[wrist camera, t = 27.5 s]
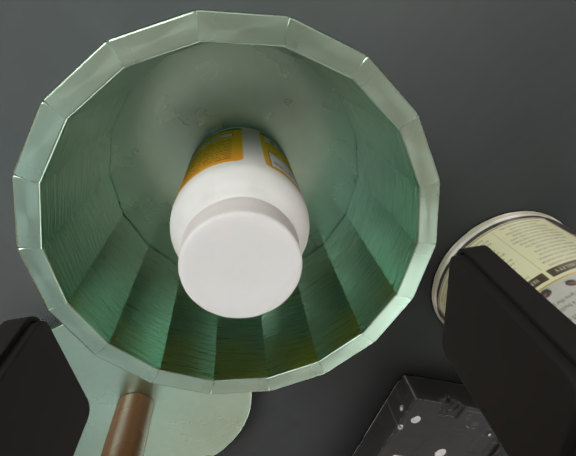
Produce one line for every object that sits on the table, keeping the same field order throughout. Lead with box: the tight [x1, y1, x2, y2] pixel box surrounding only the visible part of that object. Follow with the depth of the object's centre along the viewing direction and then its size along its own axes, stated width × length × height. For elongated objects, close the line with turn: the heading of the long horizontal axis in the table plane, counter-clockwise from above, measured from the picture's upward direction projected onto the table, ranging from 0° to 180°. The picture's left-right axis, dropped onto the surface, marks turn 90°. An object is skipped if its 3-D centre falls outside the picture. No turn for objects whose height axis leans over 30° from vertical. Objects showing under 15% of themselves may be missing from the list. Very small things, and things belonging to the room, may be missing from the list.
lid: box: [50, 322, 252, 456], centre depth 25 cm, size 16×16×6 cm
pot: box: [13, 10, 440, 394], centre depth 18 cm, size 15×15×8 cm
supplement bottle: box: [170, 127, 310, 318], centre depth 17 cm, size 5×5×10 cm
